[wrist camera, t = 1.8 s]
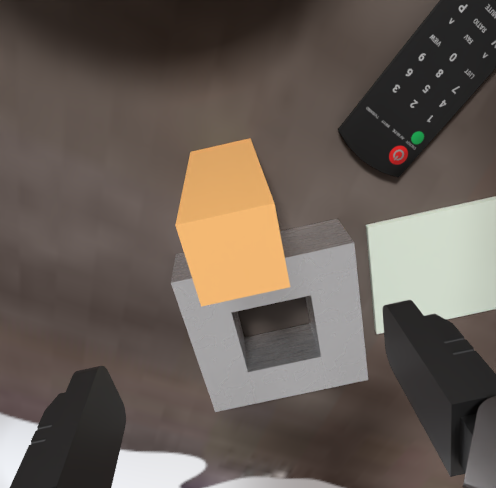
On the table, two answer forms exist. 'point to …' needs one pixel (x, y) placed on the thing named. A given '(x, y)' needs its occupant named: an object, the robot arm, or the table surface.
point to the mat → (435, 260)
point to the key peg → (230, 225)
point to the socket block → (285, 340)
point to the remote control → (424, 85)
